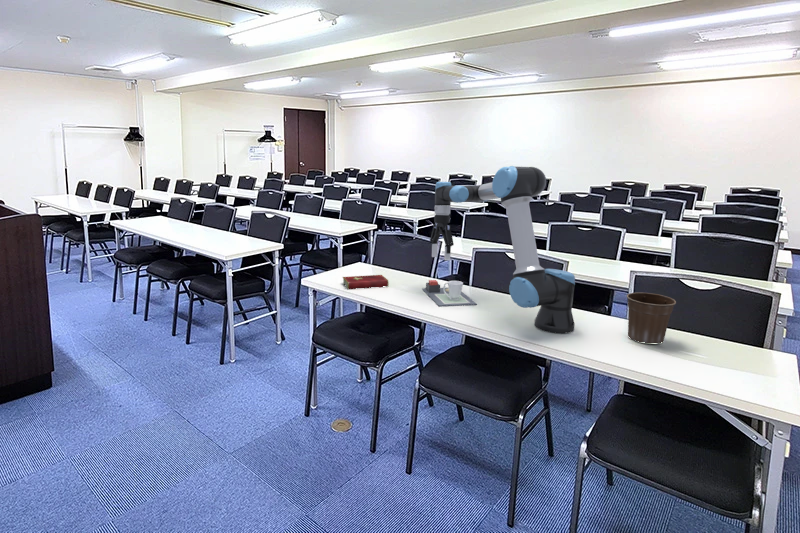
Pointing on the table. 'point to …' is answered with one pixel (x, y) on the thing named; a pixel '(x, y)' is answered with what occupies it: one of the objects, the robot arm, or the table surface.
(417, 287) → the table surface
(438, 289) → the button housing
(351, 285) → the hardcover book
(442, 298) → the picture board
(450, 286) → the cup
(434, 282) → the button
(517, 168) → the robot arm
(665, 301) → the plant pot
